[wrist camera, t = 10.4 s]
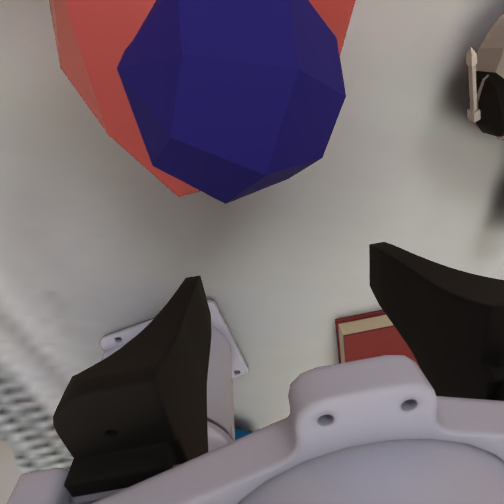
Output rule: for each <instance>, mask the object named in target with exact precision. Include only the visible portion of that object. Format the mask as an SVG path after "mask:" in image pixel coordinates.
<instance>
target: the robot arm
mask: <svg viewBox="0 0 504 504" xmlns="http://www.w3.org/2000/svg"><path fill="white" fill-rule="evenodd" d="M370 287H371V289H372V291H373V293H374V295H375V297H376V299H377V301H378V303H379V305H380V306H381V308H382V309H383V311H384V312H385V314H386V315H387V316H388V318H389V319H390V321H391V322H392V324H393V325H394V326H395V328H396V329H397V331H398V332H399V334H400V335H401V336H402V338H403V339H404V341H405V342H406V344H407V345H408V347H409V348H410V350H411V352H412V353H413V355H414V357H415V359H416V361H417V363H418V364H419V366H420V368H421V369H420V368H419V366H418V365H417V363H416V362H415V361H413V360H411V359H410V358H408V357H406V356H405V355H384V356H378V357H373V358H367V359H362V360H356V361H350V362H345V363H339V364H334V365H328V366H323V367H317V368H314V369H312V370H309V371H306V372H304V373H302V374H300V375H299V376H298V377H297V378H296V379H295V380H294V381H293V382H292V383H291V385H290V390H289V395H288V398H289V404H290V415H289V416H288V417H287V418H285V419H283V420H280V421H278V422H276V423H273V424H271V425H269V426H267V427H264V428H262V429H260V430H258V431H255V432H253V433H251V434H248V435H246V436H244V437H242V438H239V439H237V440H235V425H234V403H233V382H232V379H233V378H235V377H238V376H241V375H244V374H246V373H247V372H248V365H247V363H246V361H245V359H244V357H243V355H242V353H241V352H240V350H239V348H238V346H237V344H236V342H235V340H234V338H233V336H232V334H231V332H230V330H229V328H228V326H227V324H226V322H225V320H224V318H223V316H222V314H221V312H220V311H219V309H218V307H217V305H216V303H215V301H213V300H211V299H208V300H207V299H206V295H205V291H204V288H203V284H202V280H201V277H200V276H195V277H189V278H186V279H185V280H184V281H183V283H182V284H181V285H180V287H179V288H178V290H177V291H176V292H175V294H174V295H173V296H172V298H171V299H170V300H169V302H168V303H167V304H166V305H165V307H164V308H163V309H162V310H161V311H160V312H159V314H158V315H157V316H156V317H155V318H154V319H152V320H149V321H146V322H143V323H141V324H138V325H135V326H132V327H129V328H127V329H124V330H121V331H118V332H116V333H113V334H110V335H107V336H104V337H103V338H102V339H101V341H100V345H101V347H102V348H103V349H104V351H105V353H104V355H103V358H102V360H101V361H100V362H99V363H97V364H95V365H94V366H92V367H90V368H88V369H86V370H84V371H83V372H81V373H79V374H77V375H75V376H73V377H72V378H71V380H70V382H69V384H68V386H67V388H66V390H65V392H64V394H63V396H62V398H61V400H60V402H59V405H58V407H57V409H56V411H55V414H54V416H53V425H54V427H55V429H56V432H57V433H58V435H59V436H60V438H61V439H62V441H63V442H64V444H65V445H66V447H67V449H68V450H69V452H70V453H71V455H72V456H73V458H74V460H73V462H72V465H71V468H70V470H69V471H68V470H67V469H64V468H53V469H47V470H41V471H36V472H30V473H25V474H23V475H21V476H20V478H19V480H18V482H17V484H16V486H15V488H14V490H13V492H12V494H11V496H10V498H9V500H8V502H7V504H504V280H499V279H494V278H488V277H483V276H479V275H474V274H470V273H467V272H463V271H459V270H456V269H453V268H449V267H446V266H443V265H441V264H438V263H435V262H432V261H430V260H427V259H425V258H422V257H420V256H417V255H415V254H412V253H410V252H408V251H405V250H403V249H401V248H399V247H396V246H394V245H391V244H389V243H386V242H381V243H376V244H370ZM116 337H119V338H121V339H117V338H116ZM236 370H238V371H237V372H236ZM421 370H422V371H421Z"/></svg>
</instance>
